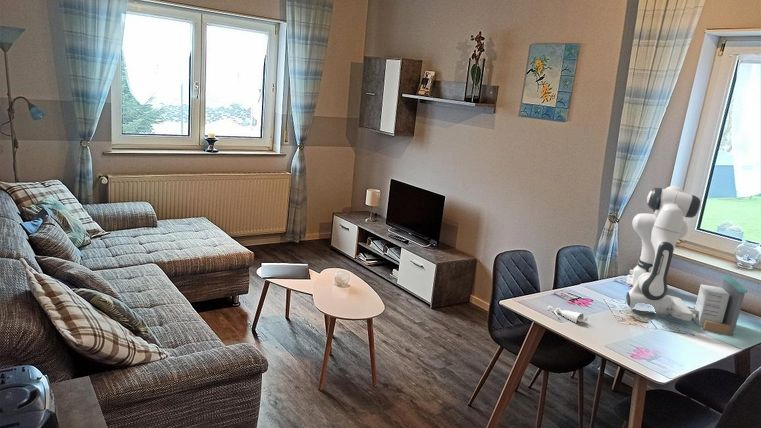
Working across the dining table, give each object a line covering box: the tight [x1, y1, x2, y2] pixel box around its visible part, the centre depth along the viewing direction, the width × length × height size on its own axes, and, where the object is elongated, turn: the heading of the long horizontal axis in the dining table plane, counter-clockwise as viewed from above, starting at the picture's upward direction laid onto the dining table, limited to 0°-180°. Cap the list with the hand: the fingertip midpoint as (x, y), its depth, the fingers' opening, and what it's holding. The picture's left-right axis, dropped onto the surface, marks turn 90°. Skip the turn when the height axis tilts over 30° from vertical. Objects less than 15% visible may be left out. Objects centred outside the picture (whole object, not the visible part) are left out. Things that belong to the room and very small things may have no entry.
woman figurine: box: [547, 305, 589, 324], centre depth 233 cm, size 12×4×18 cm
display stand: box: [692, 274, 748, 336], centre depth 240 cm, size 19×12×21 cm, turn 166°
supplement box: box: [692, 283, 730, 327], centre depth 240 cm, size 10×9×17 cm
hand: (697, 311), depth 242 cm, fingers closed
